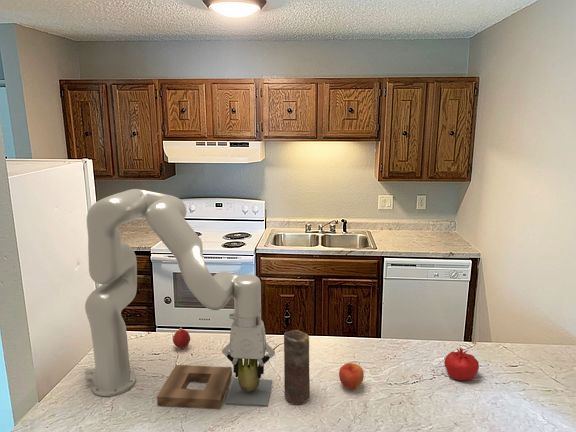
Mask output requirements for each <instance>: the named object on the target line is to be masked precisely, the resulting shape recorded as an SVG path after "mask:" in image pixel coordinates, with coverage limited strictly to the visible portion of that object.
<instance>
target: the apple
mask: <svg viewBox="0 0 576 432" xmlns="http://www.w3.org/2000/svg"><path fill="white" fill-rule="evenodd" d="M338 376H339V382H340V383H341V385H342V386H343V387H344V388H345V389H347V390H351V391H354V390H356V389H358V388H359V387H360V386H361V385H362V383H363V381H364V377H365V375H364V370H363V368H362V367H361V366H360V365H359V364H357V363H353V362H348V363H344V364H343V365H342V366H341V367H340V368H339V371H338Z"/></svg>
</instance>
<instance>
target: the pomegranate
mask: <svg viewBox="0 0 576 432" xmlns="http://www.w3.org/2000/svg"><path fill="white" fill-rule="evenodd" d="M467 352H469V349H467V350H465V351H464V348H462V347H458V348H456V351H450V352H449V353H448V354H447V355H446V356H445V357H444V361H443V362H444V363H443V364H444V368H445V369H446V372H447V375H448V376H449V377H450V378H452V379H454V380H457V381H471V380H473V379H474V378H475V377H476V375H477V374H478V372H479V369H480V365H479V364H480V363H479V360H478V359H476V357H475V356H474V355H473V354H469V353H467Z"/></svg>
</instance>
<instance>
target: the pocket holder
mask: <svg viewBox="0 0 576 432" xmlns="http://www.w3.org/2000/svg"><path fill="white" fill-rule="evenodd" d="M232 377H233V366H232V367H231V366H211V365H190V364H189V365H187V364H175V365H174V366H173V369H172V371H170V374H169V376H168V377H167V379H166V380H165V382H164V383H163V385H162V388H161V389H160V391H159V392H158V394H157V396H156V405H157V407H170V408H187V409H189V408H190V409H207V410H208V409H209V410H221V409H222V405H223V402H224V400H225V397H226V394H227V391H228V388H229V386H230V383H231V380H232ZM189 381H196V382H195V383H206V386H205V387H204V389H195V388H194V389H192V388H189V389H188V388H187V387H188V386H187V385H189V384H188V383H190V382H189Z"/></svg>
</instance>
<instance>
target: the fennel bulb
mask: <svg viewBox="0 0 576 432" xmlns="http://www.w3.org/2000/svg"><path fill="white" fill-rule="evenodd" d="M258 365H259V362H258V360H257V359H240V358H238V377H237V378H238V382H239V385H240V387H241V389H243V390H245V391H247V392H253V391H255V390H256V389H257V387H258V385H259V381H260V379H259V378H258Z"/></svg>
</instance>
